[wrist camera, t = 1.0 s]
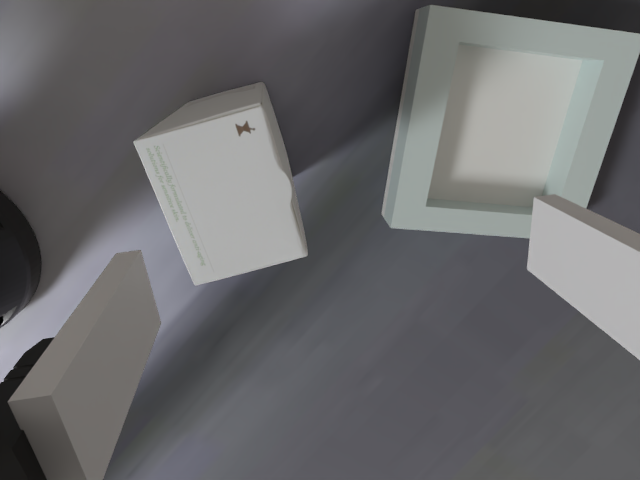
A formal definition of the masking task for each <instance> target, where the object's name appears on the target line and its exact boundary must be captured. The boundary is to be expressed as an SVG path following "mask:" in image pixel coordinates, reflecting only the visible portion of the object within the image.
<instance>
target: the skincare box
mask: <svg viewBox="0 0 640 480" xmlns="http://www.w3.org/2000/svg"><path fill="white" fill-rule="evenodd" d="M133 142H134V145H135V147H136V149H137V152H138V154H139V156H140V159H141V161H142V164H143V166H144V168H145V171H146V173H147V176H148V178H149V180H150V183H151V185H152V187H153V190H154V192H155V194H156V197H157V199H158V202H159V204H160V206H161V209H162V211H163V213H164V216H165V218H166V221H167V223H168V225H169V228H170V230H171V233H172V235H173V237H174V240H175V242H176V244H177V246H178V249H179V251H180V253H181V256H182V258H183V260H184V262H185V265H186V267H187V269H188V272H189V274H190V276H191V278H192V280H193V283H194V285H200V284H203V283H207V282H212V281H216V280H220V279H223V278H227V277H231V276H235V275H239V274H242V273H246V272H250V271H254V270H257V269H261V268H265V267H268V266H272V265H276V264H280V263H283V262H287V261H291V260H294V259H298V258H302V257H306V256H307V255H308V251H307V243H306V238H305V233H304V228H303V223H302V219H301V214H300V210H299V205H298V201H297V196H296V192H295V187H294V182H293V178H292V173H291V169H290V165H289V160H288V156H287V152H286V149H285V145H284V142H283V138H282V135H281V132H280V129H279V126H278V122H277V119H276V116H275V113H274V110H273V107H272V104H271V100H270V97H269V94H268V92H267V89H266V86H265V84H264V83H263V82H259V83H255V84H251V85H247V86H243V87H239V88H235V89H231V90H228V91H224V92H220V93H217V94H213V95H210V96H207V97H203V98H200V99H196V100H193V101H190V102H187V103H186V104H185V105H183V106H182V107H181V108H179V109H178V110H176V111H175V112H174V113H172V114H171V115H169V116H168V117H167V118H165V119H164V120H162V121H161V122H160V123H158V124H157V125H156V126H154V127H153V128H151V129H150V130H148V131H147V132H146V133H144V134H143V135H142V136H140V137H139V138H137V139H136V140H135V141H133Z"/></svg>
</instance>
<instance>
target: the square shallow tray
mask: <svg viewBox="0 0 640 480" xmlns="http://www.w3.org/2000/svg"><path fill="white" fill-rule="evenodd" d="M639 53H640V34H638V33H631V32H624V31H616V30H609V29H602V28H595V27H588V26H580V25H573V24H566V23H559V22H551V21H544V20H537V19H530V18H523V17H515V16H508V15H501V14H494V13H487V12H479V11H472V10H465V9H458V8H451V7H443V6H436V5H428V6H425V7H423V8H420V9H417V10H416V11H415V17H414V23H413V29H412V35H411V41H410V47H409V53H408V59H407V64H406V70H405V76H404V82H403V88H402V94H401V100H400V106H399V112H398V118H397V124H396V130H395V136H394V142H393V148H392V153H391V159H390V165H389V171H388V177H387V183H386V189H385V195H384V201H383V207H382V213H381V214H382V216H383V217H384V219H385V220H386V222H387V223H388V225H389V226H390V228H398V229H412V230H425V231H439V232H452V233H466V234H479V235H492V236H506V237H519V238H530V232H531V222H532V211H533V200H534V197H537V196H545V195H552V194H556V195H558V196H560V197H562V198H565V199H567V200H569V201H571V202H573V203H575V204H577V205H579V206H581V207H584V208H587V205H588V202H589V199H590V196H591V193H592V190H593V187H594V184H595V181H596V178H597V176H598V173H599V170H600V167H601V164H602V161H603V158H604V155H605V152H606V149H607V146H608V144H609V141H610V138H611V135H612V132H613V129H614V126H615V123H616V120H617V117H618V114H619V111H620V109H621V106H622V103H623V100H624V97H625V94H626V91H627V88H628V85H629V82H630V79H631V76H632V74H633V71H634V68H635V65H636V62H637V59H638V56H639Z"/></svg>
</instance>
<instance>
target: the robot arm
mask: <svg viewBox="0 0 640 480" xmlns="http://www.w3.org/2000/svg"><path fill="white" fill-rule="evenodd" d="M527 270H529V271H530V272H531V273H532V274H534V275H535V276H536V277H537V278H539V279H540V280H541V281H542V282H544V283H545V284H546V285H547V286H548V287H550V288H551V289H552V290H553V291H555V292H556V293H557V294H558V295H560V296H561V297H562V298H563V299H565V300H566V301H567V302H568V303H570V304H571V305H572V306H573V307H575V308H576V309H577V310H578V311H579V312H581V313H582V314H583V315H584V316H586V317H587V318H588V319H589V320H591V321H592V322H593V323H594V324H596V325H597V326H598V327H599V328H601V329H602V330H603V331H604V332H606V333H607V334H608V335H609V336H611V337H612V338H613V339H614V340H615V341H617V342H618V343H619V344H620V345H622V346H623V347H624V348H625V349H627V350H628V351H629V352H630V353H632V354H633V355H634V356H635V357H637V358H638V359H639V360H640V234H639V233H636V232H634V231H632V230H630V229H628V228H626V227H624V226H622V225H619V224H617V223H615V222H613V221H611V220H609V219H607V218H605V217H603V216H600V215H598V214H596V213H594V212H592V211H590V210H588V209H586V208H584V207H581V206H579V205H577V204H575V203H573V202H571V201H569V200H567V199H565V198H562V197H560V196H558V195H556V194H552V195H545V196H537V197H534V200H533V211H532V222H531V232H530V243H529V254H528V264H527ZM40 274H41V257H40V251H39V247H38V243H37V240H36V237H35V235H34V233H33V231H32V229H31V227H30V225H29V223H28V222H27V220H26V218H25V217H24V216H23V214H22V213H21V212H20V210H19V209H18V208H17V207H16V206H15V205H14V203H13V202H12V201H11V200H10V199H9V198H8V197H7V196H5V195H4V194H3V193H2V192H1V191H0V328H1V327H3V326H4V325H5V324H7V323H8V322H9V321H10V320H11V319H12V318H14V317H15V316H16V315H17V314H18V313H19V312H20V311H21V310H22V309H23V308H24V307H25V306H26V305H27V303H28V302H29V301H30V299H31V298H32V296H33V295H34V293H35V291H36V289H37V286H38V283H39V279H40ZM160 325H161V321H160V317H159V313H158V310H157V306H156V303H155V299H154V296H153V292H152V288H151V285H150V281H149V278H148V274H147V270H146V267H145V263H144V260H143V256H142V252H141V250H137V251H130V252H122V253H116V254H115V256H114V257H113V258H112V260H111V261H110V263H109V264H108V265H107V267H106V268H105V269H104V271H103V272H102V273H101V275H100V276H99V278H98V279H97V280H96V282H95V283H94V284H93V286H92V287H91V288H90V290H89V291H88V293H87V294H86V295H85V297H84V298H83V299H82V301H81V302H80V304H79V305H78V306H77V308H76V309H75V310H74V312H73V313H72V314H71V316H70V317H69V319H68V320H67V321H66V323H65V324H64V325H63V327H62V328H61V329H60V331H59V332H58V334H57V335H56V336H55V337H53V338H47V339H43V340H41V341H40V342H39V343H37V344H36V345H34V346H33V347H32V348H30V349H29V350H28V351H26V352H25V353H24V354H23V356H22V357H21V358H20V359H19V361H18V362H17V363H16V364H15V366H14V369H13V370H11V371H10V372H9V373H8V375H7V376H6V377H5V378H4V382H1V383H0V480H103V477H104V475H105V472H106V469H107V467H108V464H109V461H110V459H111V456H112V453H113V451H114V448H115V445H116V442H117V440H118V437H119V434H120V432H121V429H122V426H123V424H124V421H125V418H126V416H127V413H128V410H129V408H130V405H131V402H132V400H133V397H134V394H135V392H136V389H137V386H138V384H139V381H140V378H141V376H142V373H143V370H144V368H145V365H146V362H147V360H148V357H149V354H150V352H151V349H152V346H153V344H154V341H155V338H156V336H157V333H158V330H159V327H160Z"/></svg>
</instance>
